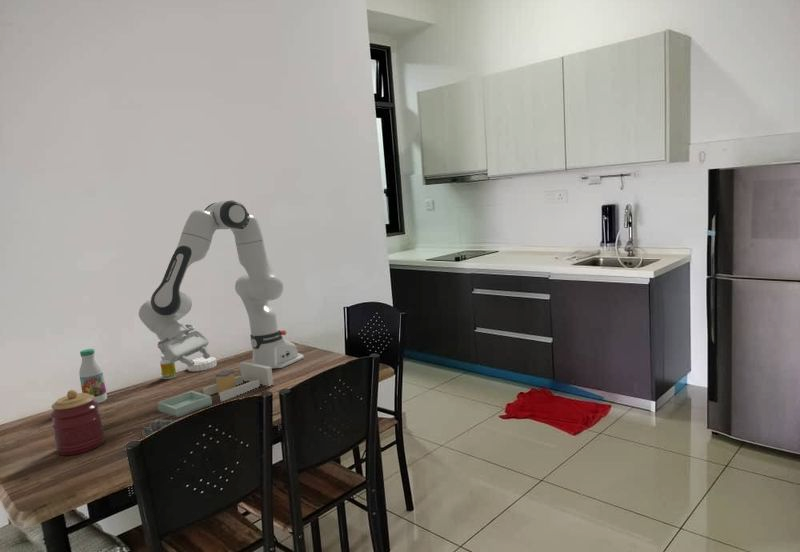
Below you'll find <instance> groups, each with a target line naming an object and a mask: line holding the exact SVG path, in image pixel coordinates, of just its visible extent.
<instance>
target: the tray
mask: <svg viewBox="0 0 800 552" xmlns="http://www.w3.org/2000/svg"><path fill="white" fill-rule="evenodd" d="M211 404H212V405H213V400H212V396H211V395H209V396H208V395H205V394H204V393H201V392H198V391H196V390H190V391H187V392H184V393H181V394H179V395H175V396H172V397H170V398H166V399H163V400H160V401H157V410H158V412H161V413H163V414H166V415H169V416H172V417H174V418H180V417H182V416H185V415H189V414H191V413H194V412H196V411H199V410H202V409H204V408H206V407H210V406H212V405H211Z"/></svg>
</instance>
